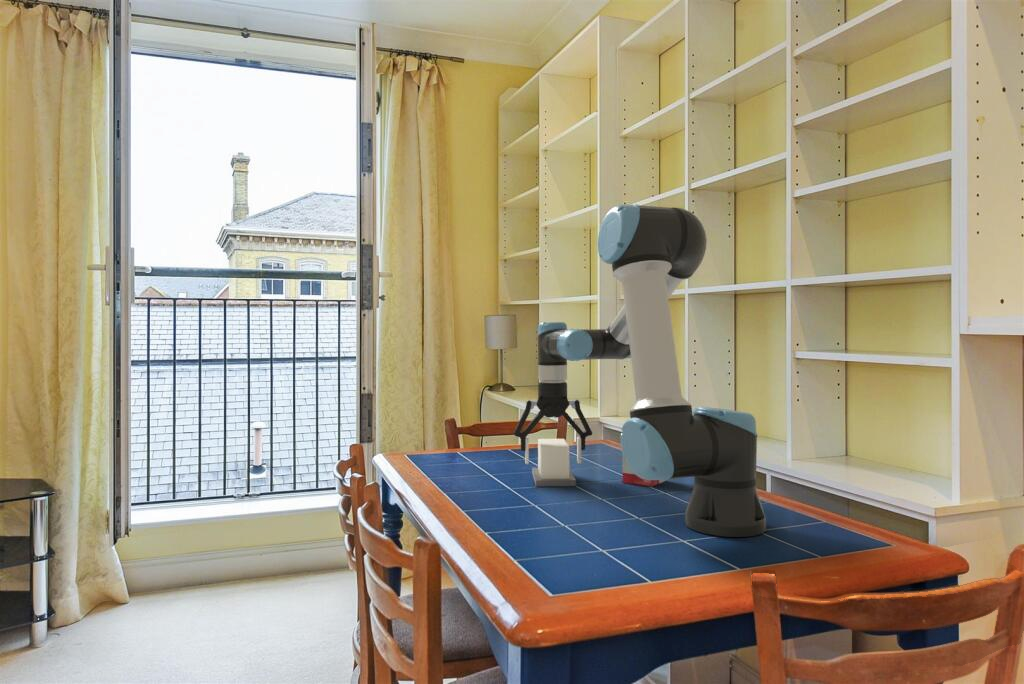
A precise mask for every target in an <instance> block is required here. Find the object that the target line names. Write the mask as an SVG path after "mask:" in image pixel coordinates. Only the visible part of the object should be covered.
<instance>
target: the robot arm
mask: <svg viewBox="0 0 1024 684" xmlns="http://www.w3.org/2000/svg"><path fill="white" fill-rule="evenodd" d="M597 237H598V238H597V253H598V256H599V258H600V259H601V260H602V261H603V262H604V263H605V264H609V265H611V268H612V275H613V277H614V278H615V279H616V280H618V281H620V283H621V286H622V287H621V288H622V296H623V306H622V307H621V309H620V310H619V311H618V313H617V314H616V316H615V317H614V318H613V320H612V322H611V323H610V324H609V325H608V327H607V328H605V329H604V328H600V329H598V328H596V329H595V328H594V329H587V328H585V329H582V328H581V329H579V328H569V329H568V327H567V326H568V325H567V323H566V322H564V321H563V322H562V321H543V322H542V321H541V322H540V323H539V324H538V327H537V329H538V330H537V335H536V336H537V352H538V353H537V359H538V360H537V362H538V364H537V366H538V367H537V370H538V371H537V373H538V374H537V380H539V381H540V382H539V383H537V386H538V387H537V388H538V390H537V391H538V392H537V395H538V397H537V400H530V399H527V400H526V403H525V409H524V411H523V412H522V415H521V416H520V418H519V421H518V423H517V424H516V427H515V429H514V431H513V435H514V436H515V437H517V438H520V450H521V451H522V452H524V454H525V455H524V460H525V461H524V463H525V465H529V460H530V459H529V458H530V455H529V454H530V453H529V452H530V451H529V447H530V446H529V444H530V443H529V440H530V439H529V437H528V435H529V434H530V432H532V430H533V429H534V428H535V427H536V425H538V423H539V422H540V421H541V420H542V419H543V418H544V417H545V418H548V419H550V418H561V417H562V416H563V418H564V419H565V420H566V421H567V422H568V423H569V425H570V426H571V427H572V428H573V429H574V431H575V432H576V433H577V434H578V435H579V436H577V437H576V462H577V464H580V465H581V464H582V451H585V450H586V438H587V437H589V436H592V435H593V431H592V429H591V428H590V427H591V426H590V425H589V423H588V422H587V419H586V417H585V415H584V414H583V412H582V410H581V404H580V403H581V402H580V400H579V399H577V398H576V399H574V400H569V398H568V383H567V382H566V381H567V380H568V361H571V362H574V361H575V362H579V361H583V360H584V361H585V360H625V359H626V360H627V359H631V368H632V377H633V383H634V384H633V385H634V392H635V393H634V394H635V403H634V404H633V405H632V407H631V408H630V409H629V417H630V418H629V419H628V420H626V421H625V422H624V423H623V425H622V428H621V431H622V432H621V433H620V447H621V452H622V456H623V455H624V458H625V460H626V462H627V464H628V466H629V467H630V469H632V471H633V472H634V473H635V474H636V475H637V476H638V477H640V478H642V479H645V480H661V481H662V480H665V481H664V482H666V481H669V480H673V479H674V480H675V479H676V480H677V479H685V478H693V479H694V483H693V488H692V492H691V494H690V497H689V500H688V503H687V507H686V509H685V512H684V515H685V519H684V521H685V525H686V527H688V528H689V529H691V530H693V531H695V532H698V533H702V534H705V535H711V536H712V535H713V536H718V537H726V538H741V537H742V538H745V537H754V536H758V535H762V534H764V533H765V532H766V530H767V518H766V514H765V511H764V508H763V505H762V503H761V499H760V496H759V494H758V493H759V492H758V489H757V447H758V445H757V444H758V443H757V441H758V433H757V423H756V422H757V420H756V418H755V417H754V415H753V414H751V413H750V412H745V411H740V410H734V409H733V410H732V409H724V408H717V407H710V406H709V407H708V406H696V407H695V408H694V410H693V408H692V403H690V402H689V401H688V400H686V398H684V397H683V394H682V390H681V389H682V388H681V381H680V373H679V367H678V358H677V353H676V352H677V351H676V344H675V339H674V338H675V336H674V332H673V331H674V330H673V324H672V315H671V310H670V309H671V307H670V300H669V299H670V297H671V295H672V294H673V293H674V292H675V290H677V288H678V287H679V285H680V284H681V283H682V282H683V280H688V279H690V278H692V276H693V275H694V274H695V272H696V271H697V270H698V269H699V267H700V265H701V264H702V263H703V262H702V261H703V260H704V257H705V255H706V250H707V244H708V243H707V241H708V240H707V234H706V230H705V227H704V225H703V223H702V222H701V220H700V219H699V218H698V217H697V216H696V215H695V214H694V213H692V212H691V211H689V210H687V209H684V208H682V207H663V206H654V205H653V206H652V205H651V206H650V205H640V204H636V203H632V204H617V205H615V206H614V207H612V208H611V209H609V211H608V212H607V213H606V214H605V216H604V218H603V220H602V222H601V225H600V228H599V232H598V236H597ZM535 406H536V407H537V408H538V409H539V411H538V412H537V414H536V415H535V417H534V418H533V419H532V420H531V421H530V423H529V424H528V425H527V426H525V428H524V429H523V426H524V424H525V423H526V421H527V419H528V418H529V415H530V414H531V413H530V412H531V410H533V409H534V408H535ZM569 406H571V408H572V409H574V410H575V412H576V414H577V416H578V418H579V420H580V423H581V424H582V427H583V429H584V430H585V431H583V430H582V429H581V427H579V426H578V424H577V423H576V422H575V421H574V420H573V419H572V417H571V416H570V415H569V414H568V413H567V409H568V408H569ZM522 429H523V430H522Z"/></svg>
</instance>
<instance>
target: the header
mask: <svg viewBox="0 0 1024 684" xmlns="http://www.w3.org/2000/svg"><path fill="white" fill-rule="evenodd" d="M531 470H532V471H531V474H532V477H533V481H534V485H535V487H536V488H537V487H577V479H576V478H575V476H574V474H573V472H572V470H571V468H570V467H569V479H541V476H540V473H539V470H538V466H537V467H536V466H535V467H531Z"/></svg>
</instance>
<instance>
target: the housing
mask: <svg viewBox="0 0 1024 684" xmlns="http://www.w3.org/2000/svg"><path fill="white" fill-rule="evenodd" d="M537 454H538V455H537V467H538V470H539V473H540V476H541V479H569V468H570V446H569V444H568V443H567V440H566V439H565V438H538V439H537Z"/></svg>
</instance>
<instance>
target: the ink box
mask: <svg viewBox="0 0 1024 684" xmlns="http://www.w3.org/2000/svg"><path fill="white" fill-rule="evenodd" d="M621 478H622V481H621V482H622V483H624V484H631V485H639V486H643V487H644V486H645V487H654V486H657V485H659V484H662V483H665V482H666V481H665V480H662V481H661V480H645V479H642V478H640V477H638V476H637V475H636V474H635V473H634V472H633V471H632V469H630V467H629V466H628V464H627V462H626V460H625V458H624V455H623V454H622V477H621Z"/></svg>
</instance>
